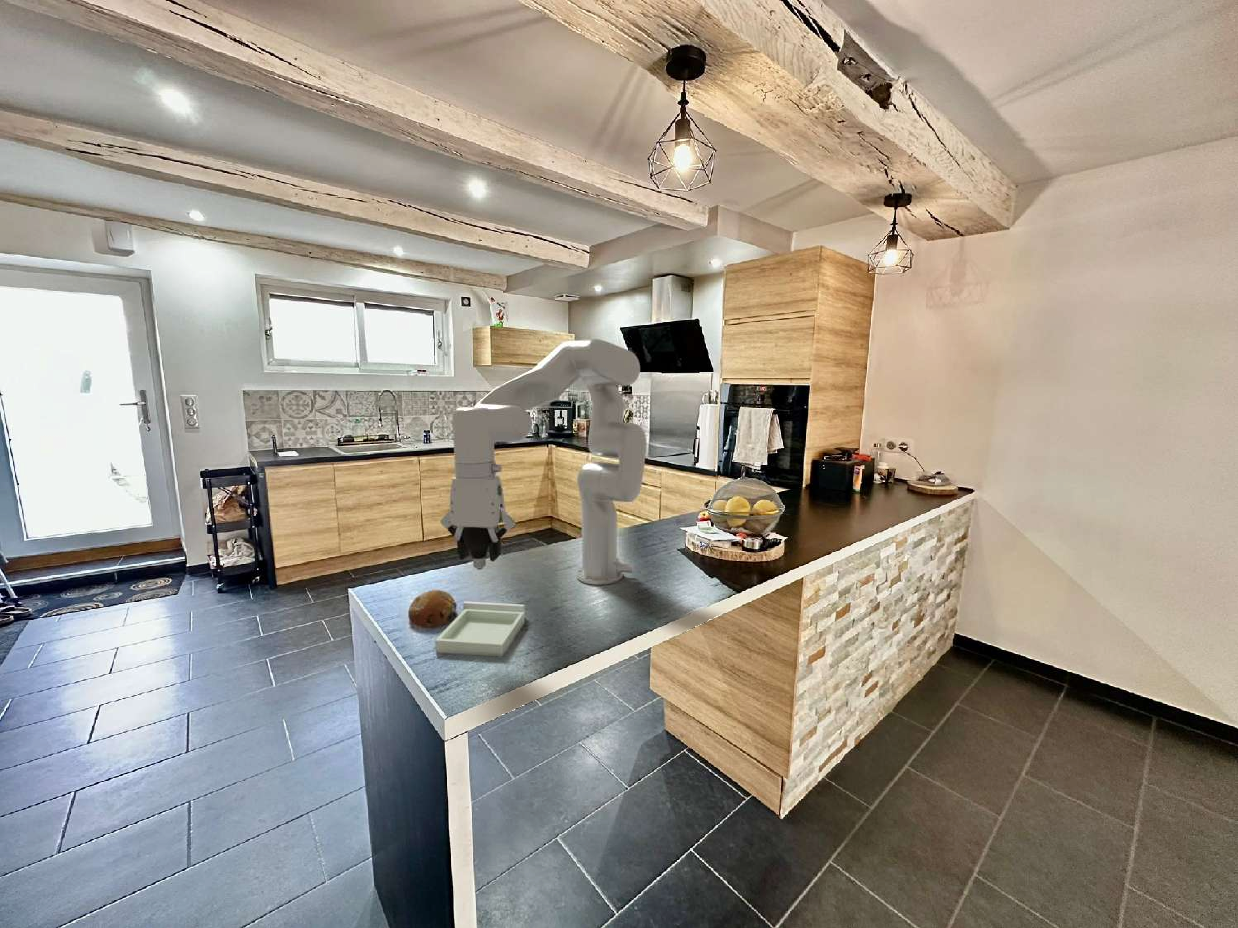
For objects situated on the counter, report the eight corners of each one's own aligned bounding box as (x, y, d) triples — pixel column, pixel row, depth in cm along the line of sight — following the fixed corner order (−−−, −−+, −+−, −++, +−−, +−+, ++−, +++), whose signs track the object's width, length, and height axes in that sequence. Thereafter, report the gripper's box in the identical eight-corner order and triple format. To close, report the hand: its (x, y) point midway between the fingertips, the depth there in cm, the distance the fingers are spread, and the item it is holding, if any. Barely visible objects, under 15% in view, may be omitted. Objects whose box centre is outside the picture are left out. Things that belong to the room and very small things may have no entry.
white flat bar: (524, 617, 109) (524, 604, 108) (523, 618, 108) (523, 606, 108) (465, 613, 111) (464, 601, 110) (463, 615, 110) (463, 602, 109)
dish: (524, 622, 106) (524, 612, 106) (502, 656, 93) (502, 644, 93) (465, 619, 108) (465, 608, 108) (435, 652, 95) (434, 640, 94)
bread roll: (447, 620, 115) (438, 587, 116) (469, 614, 109) (458, 580, 110) (407, 636, 108) (397, 601, 109) (428, 631, 101) (417, 594, 102)
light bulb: (470, 577, 94) (468, 527, 93) (460, 567, 99) (458, 520, 97) (499, 570, 98) (497, 522, 96) (488, 562, 102) (486, 516, 101)
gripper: (523, 468, 98) (526, 553, 101) (442, 466, 100) (447, 550, 103) (511, 474, 90) (514, 567, 93) (424, 472, 92) (429, 563, 95)
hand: (479, 557), depth 98 cm, fingers closed on light bulb, 5 cm apart
